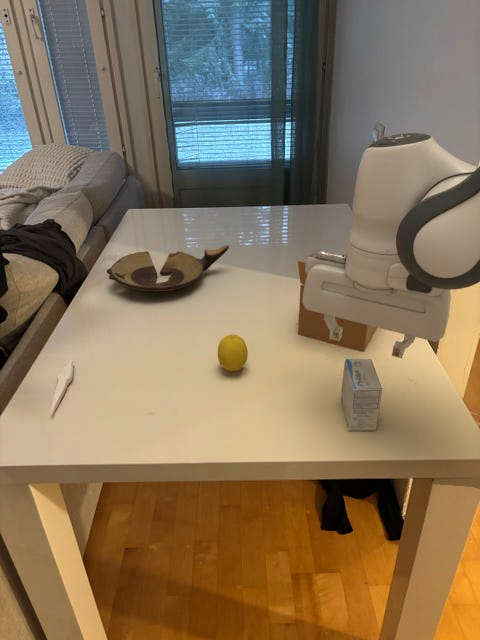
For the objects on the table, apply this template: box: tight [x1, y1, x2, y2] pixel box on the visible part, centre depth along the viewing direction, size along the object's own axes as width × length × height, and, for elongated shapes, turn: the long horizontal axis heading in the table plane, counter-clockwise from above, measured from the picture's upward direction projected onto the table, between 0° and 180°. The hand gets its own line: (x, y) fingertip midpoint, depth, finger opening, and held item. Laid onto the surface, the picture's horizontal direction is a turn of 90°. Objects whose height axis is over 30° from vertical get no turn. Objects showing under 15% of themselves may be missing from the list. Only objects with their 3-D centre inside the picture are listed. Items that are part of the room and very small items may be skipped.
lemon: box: [217, 333, 249, 372], centre depth 85 cm, size 6×6×8 cm
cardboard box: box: [297, 283, 378, 353], centre depth 96 cm, size 14×12×12 cm
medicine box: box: [340, 358, 383, 432], centre depth 74 cm, size 8×4×9 cm, turn 179°
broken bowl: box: [106, 244, 230, 292], centre depth 117 cm, size 22×30×8 cm
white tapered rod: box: [49, 358, 75, 416], centre depth 83 cm, size 15×3×2 cm, turn 5°
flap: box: [297, 259, 307, 285], centre depth 86 cm, size 14×6×1 cm
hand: (365, 346), depth 70 cm, fingers open, 8 cm apart
